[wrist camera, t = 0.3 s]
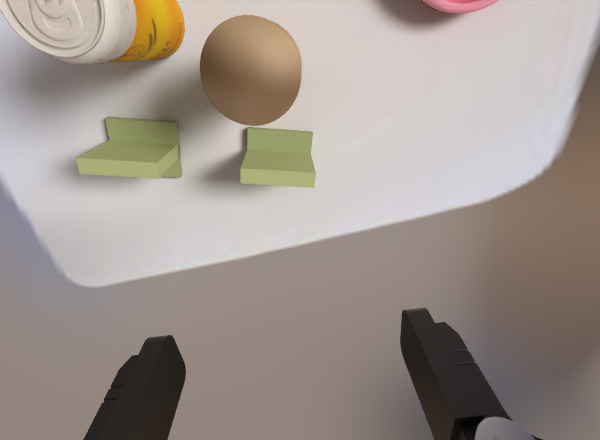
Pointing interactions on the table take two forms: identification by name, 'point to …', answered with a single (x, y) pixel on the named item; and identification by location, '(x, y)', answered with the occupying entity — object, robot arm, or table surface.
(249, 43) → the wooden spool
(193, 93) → the table surface
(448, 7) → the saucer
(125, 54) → the beer can
